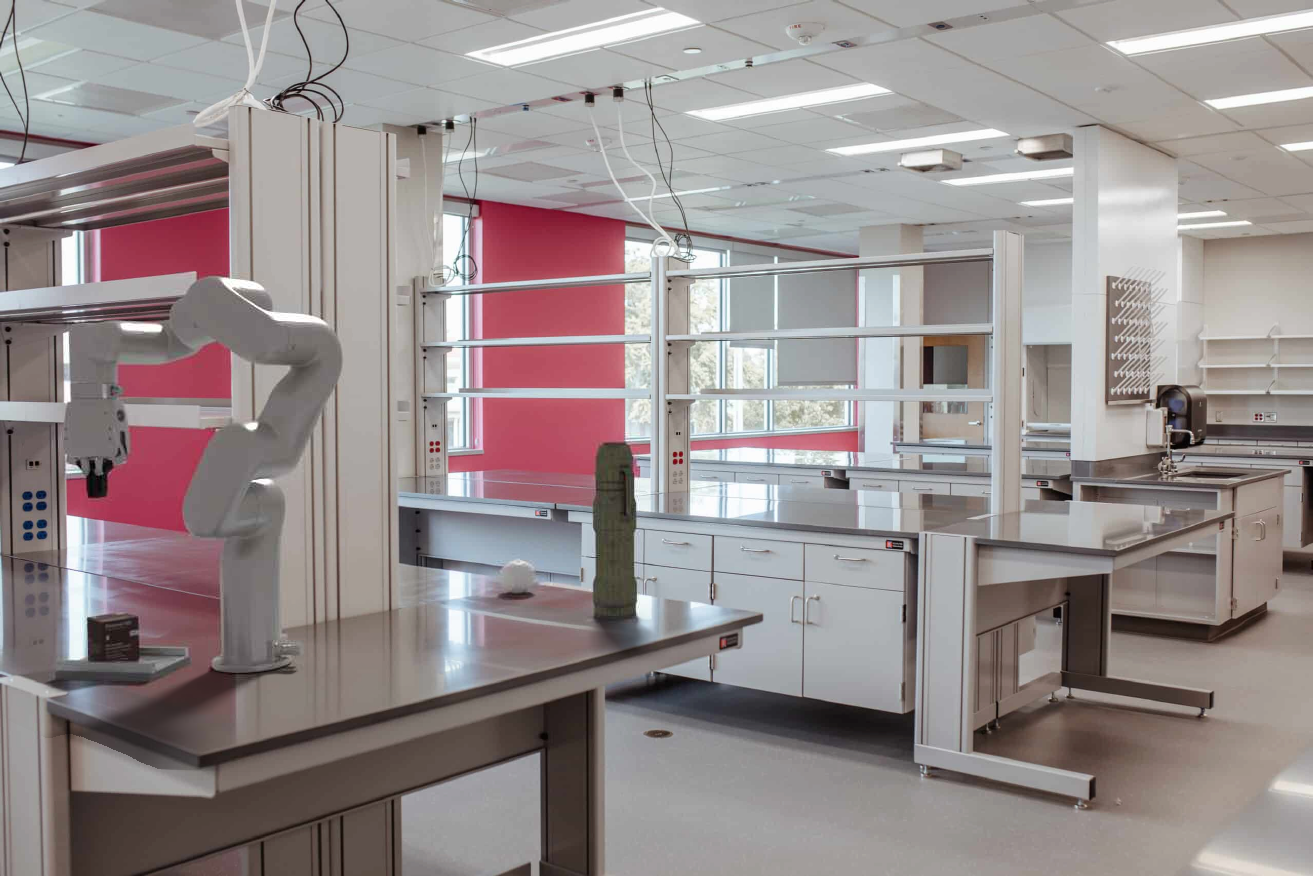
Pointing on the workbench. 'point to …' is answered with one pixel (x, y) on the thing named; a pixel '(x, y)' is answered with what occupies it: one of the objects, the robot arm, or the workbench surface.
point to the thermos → (614, 533)
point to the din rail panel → (126, 666)
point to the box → (113, 637)
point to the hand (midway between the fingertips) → (97, 497)
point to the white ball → (517, 576)
